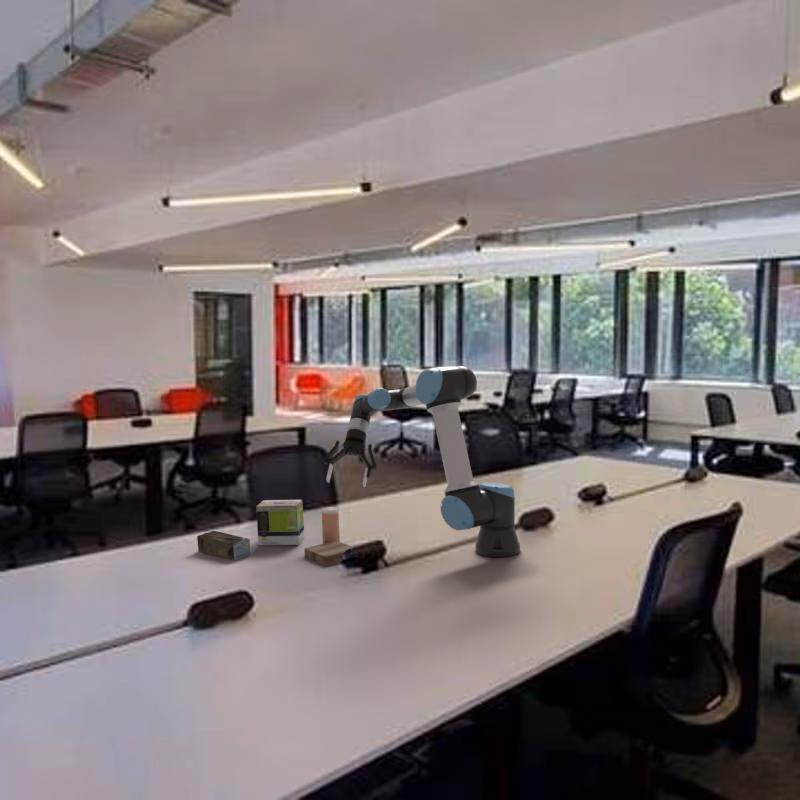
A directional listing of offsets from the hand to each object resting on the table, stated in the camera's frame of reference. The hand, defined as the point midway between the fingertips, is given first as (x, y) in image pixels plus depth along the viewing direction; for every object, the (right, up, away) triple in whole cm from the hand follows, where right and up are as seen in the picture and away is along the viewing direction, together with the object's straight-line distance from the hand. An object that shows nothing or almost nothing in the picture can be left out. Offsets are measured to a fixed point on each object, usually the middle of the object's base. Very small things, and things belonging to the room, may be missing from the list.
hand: (345, 483), depth 284 cm
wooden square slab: (-3, -23, -21) cm, 31 cm away
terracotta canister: (-5, -21, -6) cm, 23 cm away
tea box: (-23, -22, -1) cm, 32 cm away
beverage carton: (-41, -24, -13) cm, 49 cm away
